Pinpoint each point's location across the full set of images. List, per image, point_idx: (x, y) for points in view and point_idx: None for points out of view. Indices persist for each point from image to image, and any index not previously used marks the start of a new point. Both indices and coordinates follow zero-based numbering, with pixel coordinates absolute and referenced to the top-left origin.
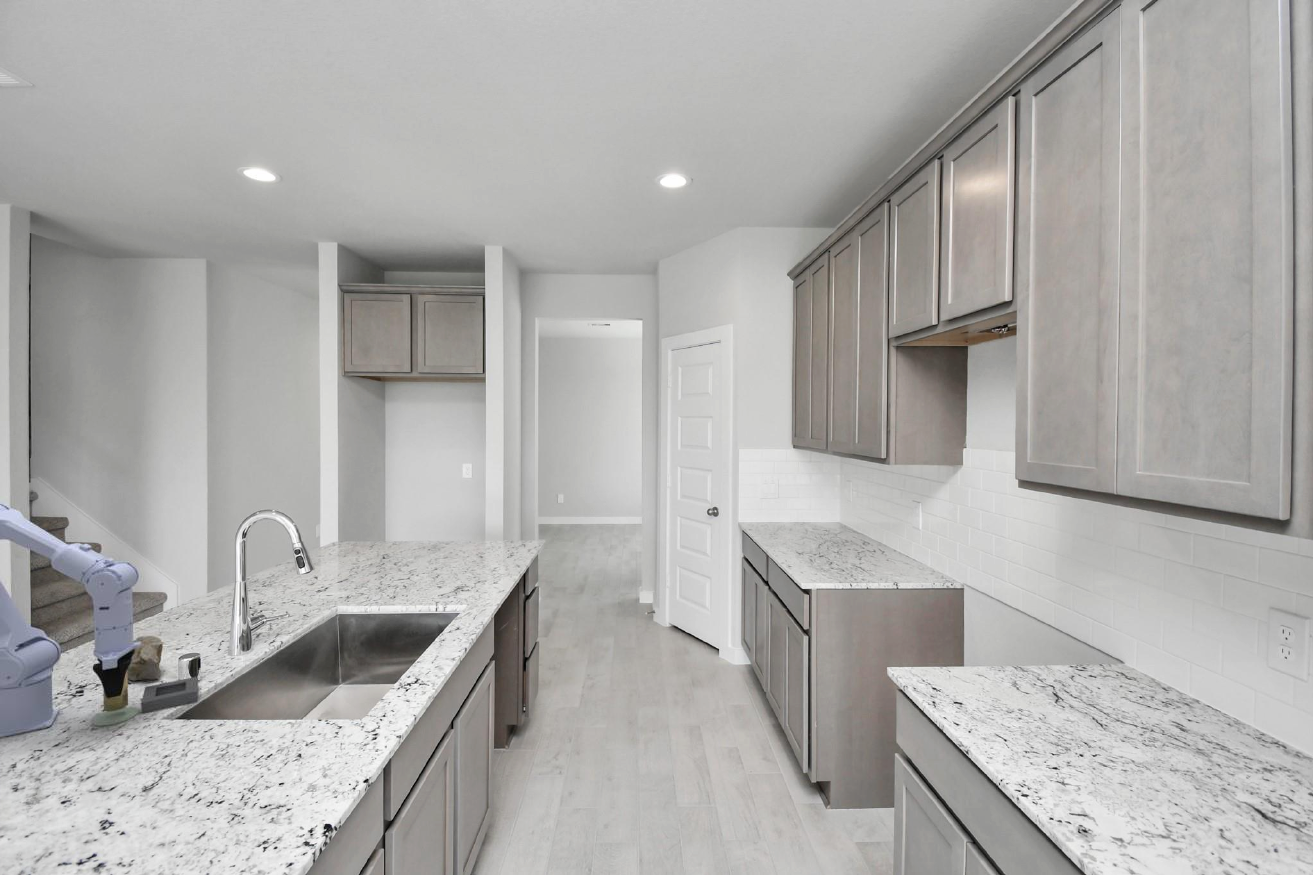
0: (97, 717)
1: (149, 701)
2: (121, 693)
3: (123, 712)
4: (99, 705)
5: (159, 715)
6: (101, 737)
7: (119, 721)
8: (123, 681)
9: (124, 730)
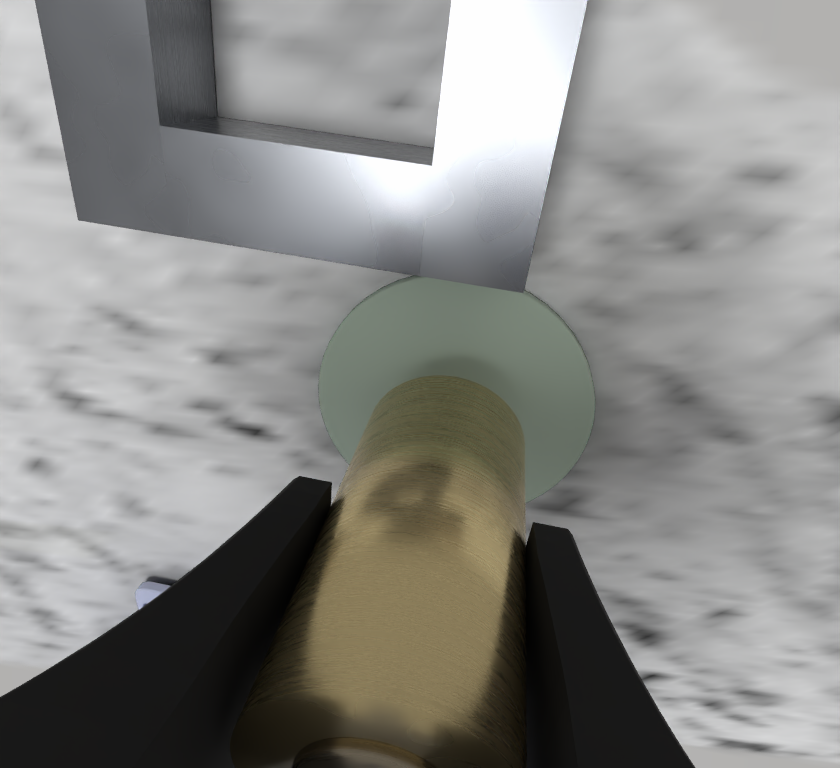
0: None
1: (534, 223)
2: (515, 518)
3: (428, 365)
4: (153, 442)
5: (714, 132)
6: (771, 497)
7: (592, 401)
8: (634, 673)
9: (792, 387)
